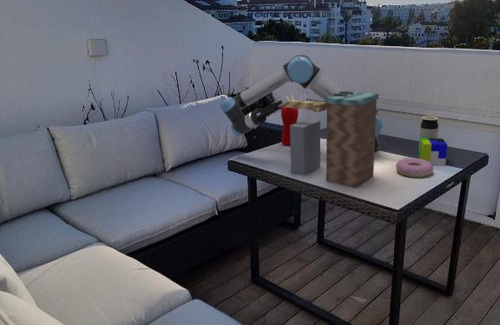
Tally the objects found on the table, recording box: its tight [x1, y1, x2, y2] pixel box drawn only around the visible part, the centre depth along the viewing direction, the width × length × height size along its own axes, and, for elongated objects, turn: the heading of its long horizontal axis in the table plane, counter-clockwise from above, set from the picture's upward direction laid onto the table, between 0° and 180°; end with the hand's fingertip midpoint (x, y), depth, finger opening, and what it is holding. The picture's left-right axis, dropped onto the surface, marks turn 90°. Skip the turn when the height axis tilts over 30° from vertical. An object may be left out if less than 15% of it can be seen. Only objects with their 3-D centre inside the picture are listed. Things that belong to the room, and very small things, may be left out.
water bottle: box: [280, 107, 299, 147], centre depth 242 cm, size 9×11×25 cm
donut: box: [395, 157, 434, 178], centre depth 193 cm, size 16×15×5 cm
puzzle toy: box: [418, 137, 448, 166], centre depth 204 cm, size 10×10×10 cm
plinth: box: [290, 118, 321, 176], centre depth 200 cm, size 7×14×22 cm, turn 140°
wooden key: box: [275, 98, 327, 113], centre depth 196 cm, size 24×7×3 cm, turn 50°
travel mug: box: [418, 115, 439, 148], centre depth 215 cm, size 8×8×18 cm
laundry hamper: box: [324, 90, 380, 189], centre depth 184 cm, size 15×17×37 cm
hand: (290, 97), depth 198 cm, fingers closed on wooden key, 3 cm apart
